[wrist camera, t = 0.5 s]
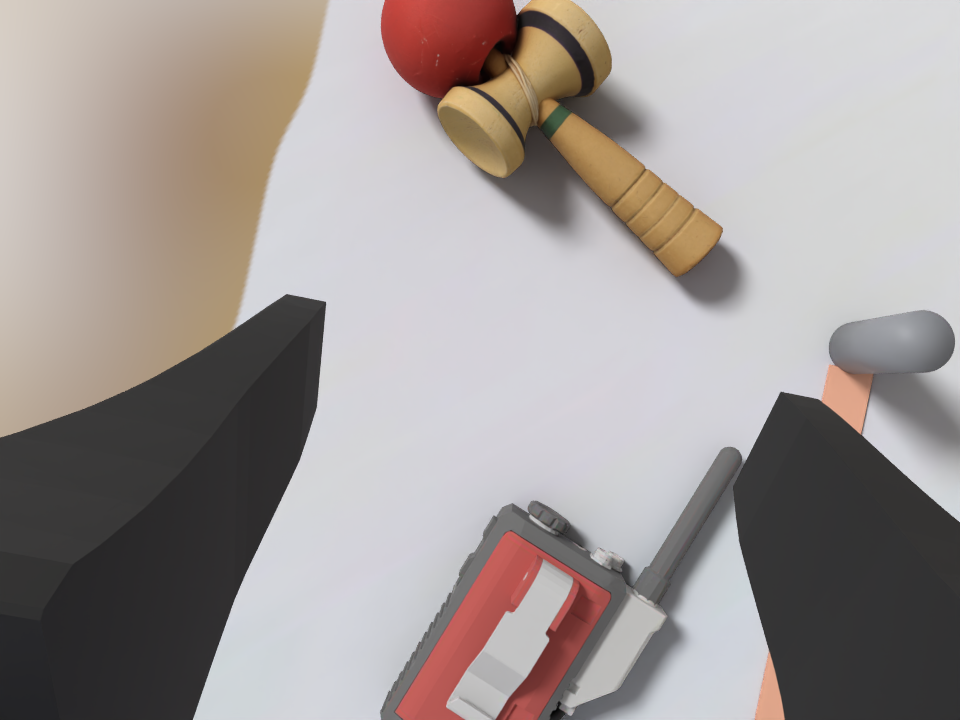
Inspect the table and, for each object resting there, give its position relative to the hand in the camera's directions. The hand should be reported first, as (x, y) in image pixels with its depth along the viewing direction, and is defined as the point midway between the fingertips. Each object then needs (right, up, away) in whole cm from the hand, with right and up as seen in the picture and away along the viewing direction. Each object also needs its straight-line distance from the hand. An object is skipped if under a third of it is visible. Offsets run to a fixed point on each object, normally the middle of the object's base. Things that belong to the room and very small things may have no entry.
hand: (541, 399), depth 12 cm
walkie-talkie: (+3, -10, +25) cm, 27 cm away
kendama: (+2, +11, +25) cm, 28 cm away
